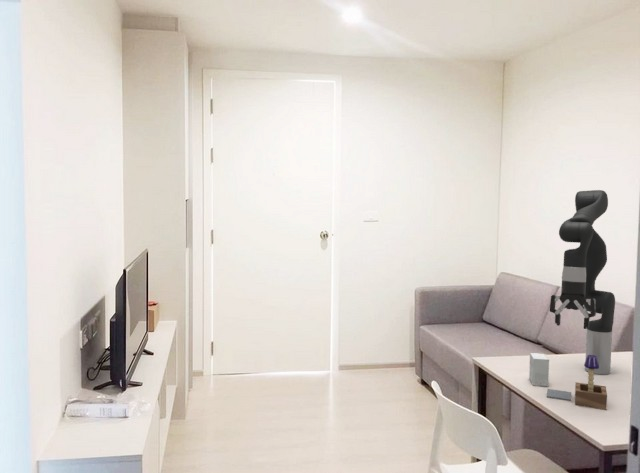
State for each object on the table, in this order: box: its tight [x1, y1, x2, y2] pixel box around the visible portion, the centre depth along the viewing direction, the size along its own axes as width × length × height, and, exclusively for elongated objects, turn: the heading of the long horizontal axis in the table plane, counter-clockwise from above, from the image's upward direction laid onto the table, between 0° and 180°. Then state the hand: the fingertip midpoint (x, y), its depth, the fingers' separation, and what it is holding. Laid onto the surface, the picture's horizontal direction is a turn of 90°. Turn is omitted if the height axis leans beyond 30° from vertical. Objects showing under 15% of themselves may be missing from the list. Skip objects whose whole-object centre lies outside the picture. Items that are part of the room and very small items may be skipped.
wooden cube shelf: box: [574, 381, 608, 411], centre depth 189 cm, size 10×10×5 cm
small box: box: [528, 352, 550, 387], centre depth 208 cm, size 8×6×10 cm
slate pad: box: [546, 388, 572, 402], centre depth 195 cm, size 8×8×1 cm
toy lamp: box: [583, 355, 599, 392], centre depth 188 cm, size 5×5×17 cm
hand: (571, 326), depth 187 cm, fingers open, 8 cm apart
